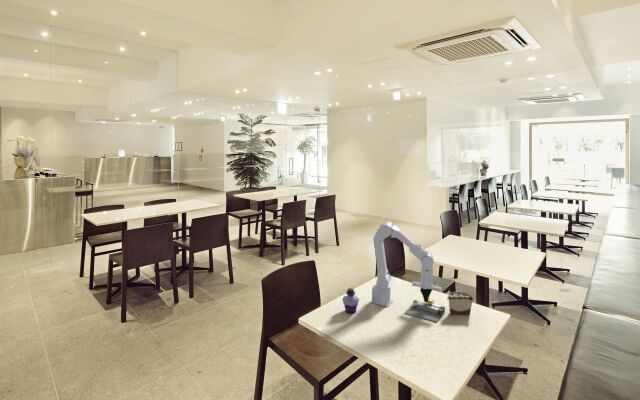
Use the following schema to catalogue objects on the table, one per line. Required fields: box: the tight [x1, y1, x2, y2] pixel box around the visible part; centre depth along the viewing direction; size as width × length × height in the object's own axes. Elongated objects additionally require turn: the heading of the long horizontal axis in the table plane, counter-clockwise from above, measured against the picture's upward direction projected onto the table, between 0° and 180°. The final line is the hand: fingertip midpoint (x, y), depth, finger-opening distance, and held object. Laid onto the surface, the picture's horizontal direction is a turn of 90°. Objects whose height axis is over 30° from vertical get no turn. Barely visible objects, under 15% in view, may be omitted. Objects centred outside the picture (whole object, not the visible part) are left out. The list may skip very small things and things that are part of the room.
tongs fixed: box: [415, 299, 446, 314], centre depth 170 cm, size 16×2×3 cm, turn 55°
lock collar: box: [427, 297, 435, 306], centre depth 170 cm, size 2×3×2 cm
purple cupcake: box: [341, 287, 360, 315], centre depth 170 cm, size 9×9×12 cm
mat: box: [404, 303, 442, 323], centre depth 167 cm, size 16×12×1 cm
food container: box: [447, 291, 474, 317], centre depth 166 cm, size 12×6×10 cm, turn 84°
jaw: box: [412, 299, 444, 317], centre depth 168 cm, size 15×3×4 cm, turn 50°
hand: (426, 301), depth 171 cm, fingers closed
